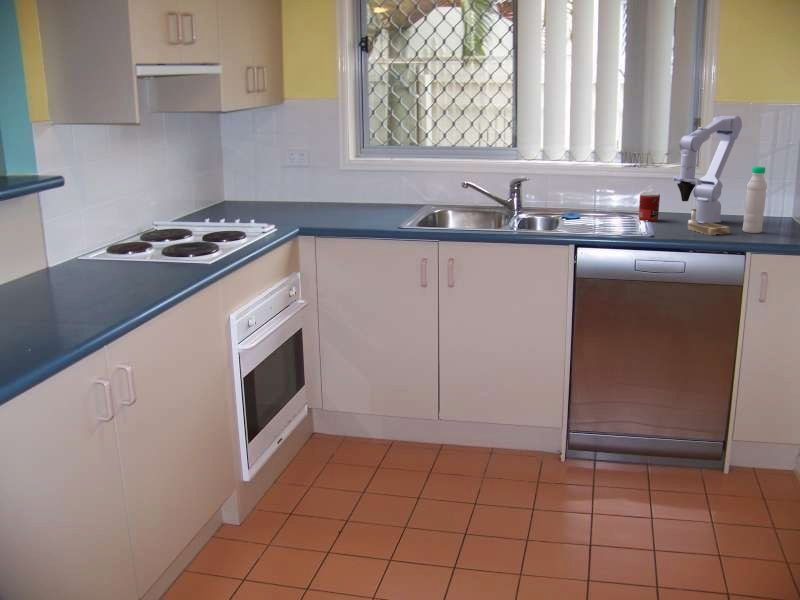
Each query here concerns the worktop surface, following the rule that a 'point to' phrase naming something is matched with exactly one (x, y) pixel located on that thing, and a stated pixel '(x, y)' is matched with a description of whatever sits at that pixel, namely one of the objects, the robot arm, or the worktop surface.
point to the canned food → (649, 206)
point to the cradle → (709, 228)
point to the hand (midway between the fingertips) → (685, 201)
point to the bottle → (693, 217)
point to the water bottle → (755, 201)
